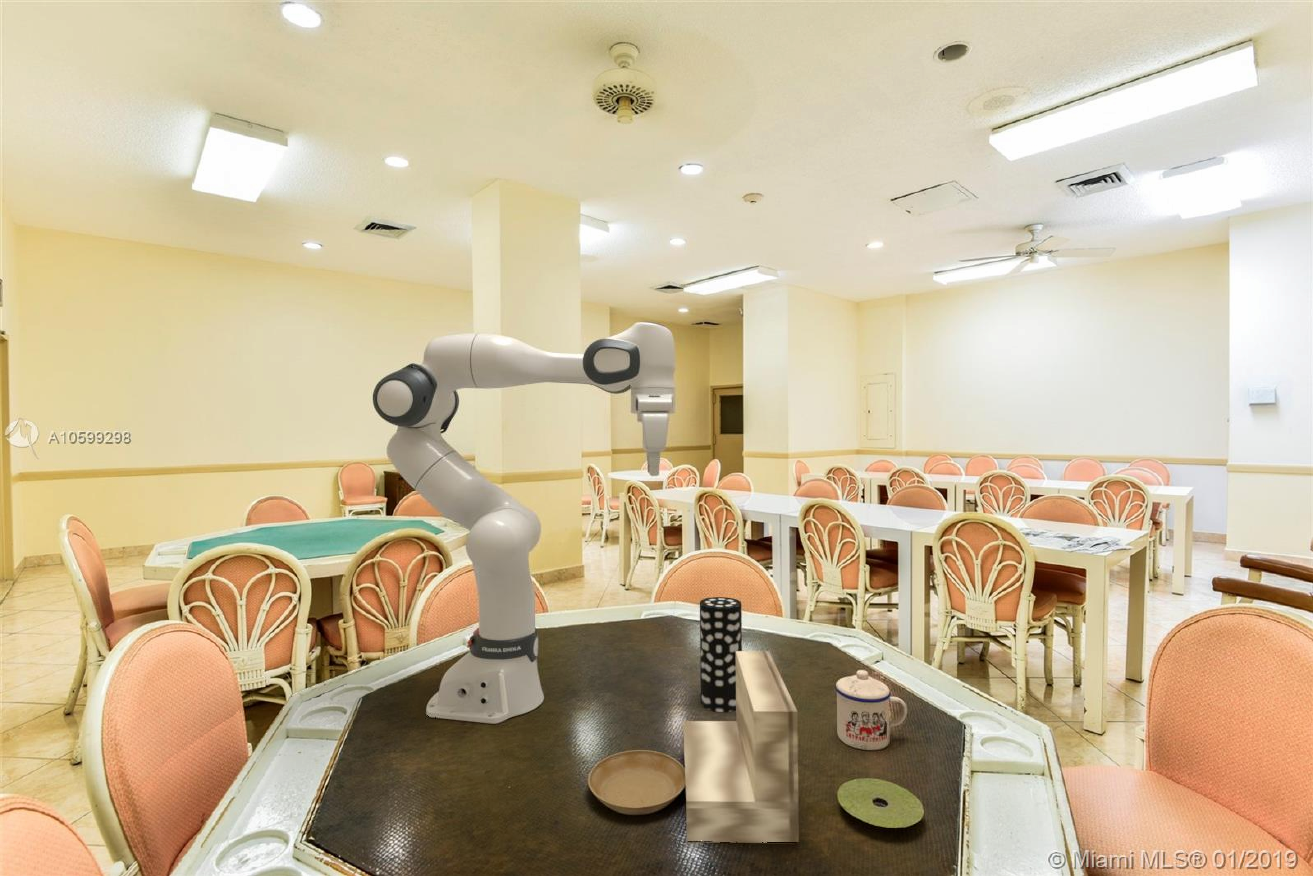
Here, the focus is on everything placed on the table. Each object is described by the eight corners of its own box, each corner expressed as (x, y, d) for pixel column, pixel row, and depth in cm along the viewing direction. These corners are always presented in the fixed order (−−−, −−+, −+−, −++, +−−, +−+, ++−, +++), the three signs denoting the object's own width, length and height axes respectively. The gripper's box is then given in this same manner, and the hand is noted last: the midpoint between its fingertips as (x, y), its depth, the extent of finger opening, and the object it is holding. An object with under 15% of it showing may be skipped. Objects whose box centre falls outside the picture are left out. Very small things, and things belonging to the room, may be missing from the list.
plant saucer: (707, 801, 85) (707, 783, 85) (618, 840, 77) (618, 820, 77) (653, 756, 98) (652, 740, 98) (571, 785, 90) (571, 768, 90)
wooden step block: (686, 842, 76) (685, 711, 76) (683, 752, 98) (682, 651, 98) (798, 843, 76) (797, 711, 76) (770, 753, 98) (769, 651, 98)
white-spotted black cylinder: (741, 714, 112) (740, 609, 112) (698, 710, 114) (697, 607, 114) (743, 695, 120) (742, 598, 120) (703, 692, 122) (702, 596, 122)
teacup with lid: (842, 751, 98) (841, 681, 98) (830, 725, 107) (830, 661, 107) (916, 753, 97) (915, 683, 97) (898, 727, 106) (897, 663, 106)
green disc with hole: (853, 842, 76) (852, 827, 76) (827, 791, 87) (827, 778, 87) (939, 841, 76) (939, 826, 76) (902, 790, 87) (902, 777, 87)
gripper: (636, 407, 126) (636, 471, 126) (638, 400, 106) (638, 477, 106) (665, 407, 126) (665, 471, 126) (673, 401, 106) (673, 477, 106)
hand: (653, 474), depth 116 cm, fingers open, 8 cm apart
